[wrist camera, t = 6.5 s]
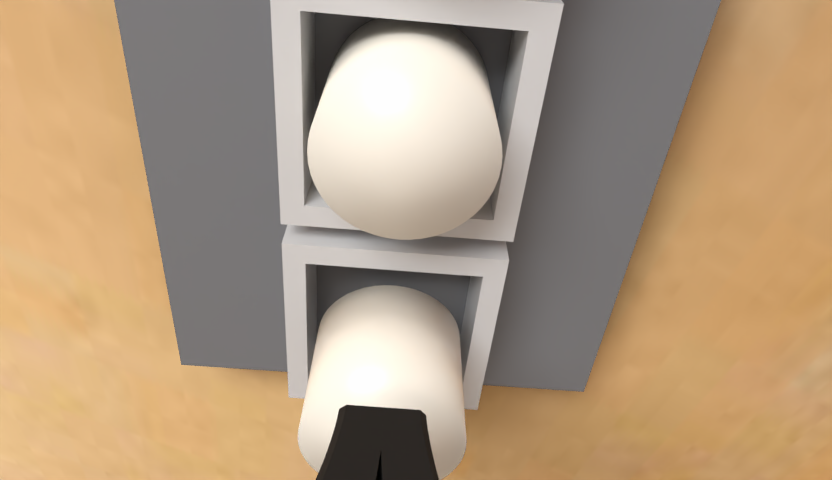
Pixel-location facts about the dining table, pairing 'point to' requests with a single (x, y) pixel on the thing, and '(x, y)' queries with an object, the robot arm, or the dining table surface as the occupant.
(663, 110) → the panel
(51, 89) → the dining table surface
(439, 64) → the knob mid
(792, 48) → the dining table surface
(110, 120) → the dining table surface
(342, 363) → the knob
